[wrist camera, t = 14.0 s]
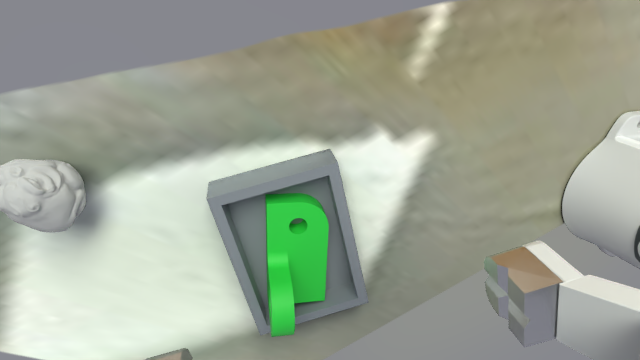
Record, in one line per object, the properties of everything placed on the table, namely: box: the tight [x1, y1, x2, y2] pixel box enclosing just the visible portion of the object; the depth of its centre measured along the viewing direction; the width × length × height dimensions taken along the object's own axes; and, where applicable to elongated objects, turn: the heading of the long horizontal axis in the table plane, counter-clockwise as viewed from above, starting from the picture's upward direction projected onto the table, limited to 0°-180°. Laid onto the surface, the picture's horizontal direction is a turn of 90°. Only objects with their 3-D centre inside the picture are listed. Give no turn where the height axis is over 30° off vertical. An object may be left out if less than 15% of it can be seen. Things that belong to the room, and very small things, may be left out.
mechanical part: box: [265, 193, 329, 337], centre depth 40 cm, size 12×6×8 cm, turn 178°
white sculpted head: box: [0, 159, 86, 232], centre depth 34 cm, size 6×7×7 cm
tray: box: [207, 149, 368, 335], centre depth 43 cm, size 12×17×4 cm
